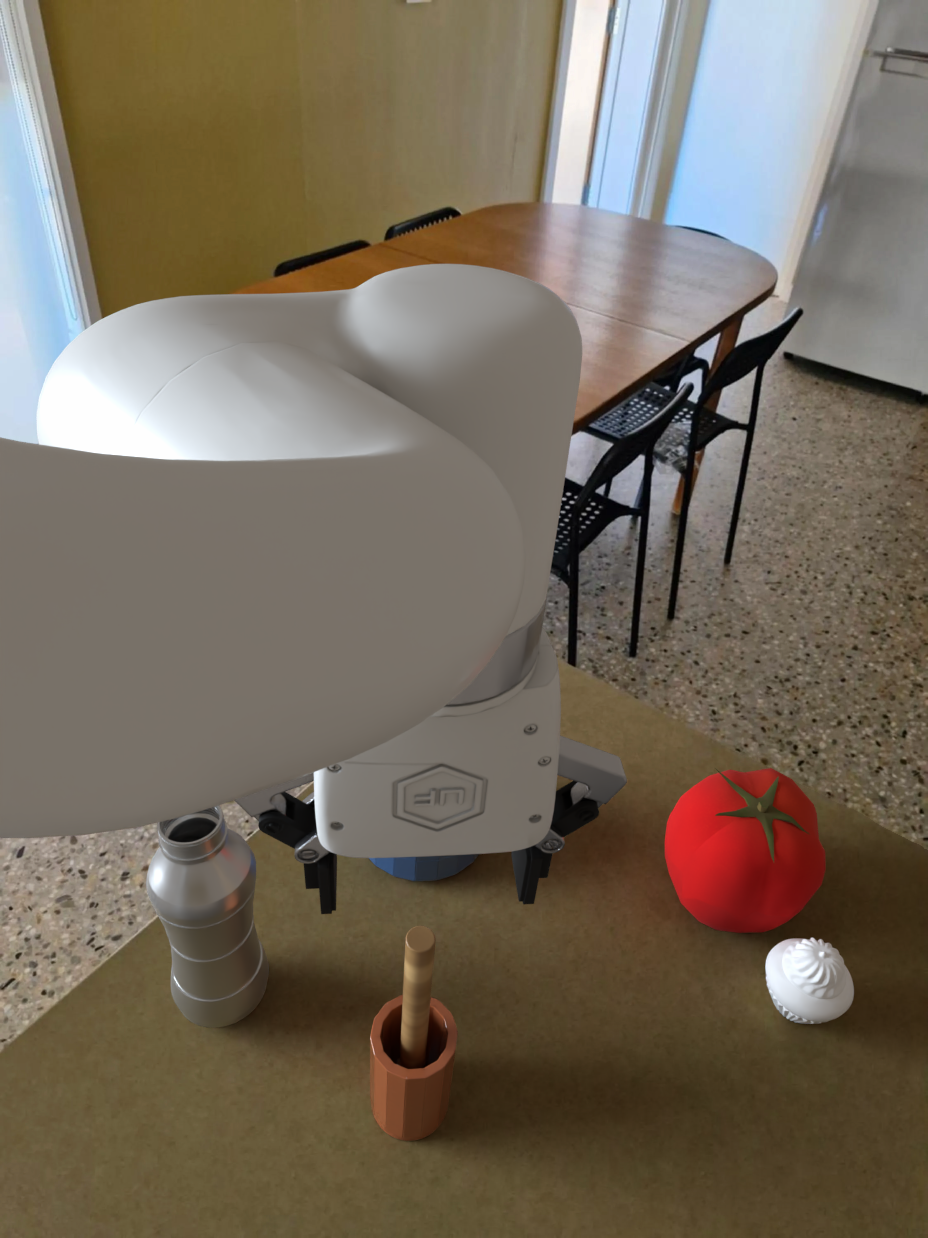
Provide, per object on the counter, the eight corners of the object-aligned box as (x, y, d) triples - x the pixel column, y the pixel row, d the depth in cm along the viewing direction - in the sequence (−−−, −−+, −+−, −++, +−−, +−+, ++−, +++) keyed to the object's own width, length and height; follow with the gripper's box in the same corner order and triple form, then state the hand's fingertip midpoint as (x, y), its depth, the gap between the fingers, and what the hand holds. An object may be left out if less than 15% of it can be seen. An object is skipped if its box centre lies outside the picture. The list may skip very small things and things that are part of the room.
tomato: (621, 897, 73) (649, 806, 65) (698, 802, 81) (731, 712, 74) (759, 992, 67) (807, 904, 60) (827, 879, 75) (876, 790, 68)
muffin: (742, 1015, 65) (769, 964, 61) (764, 950, 70) (791, 899, 65) (827, 1060, 63) (861, 1011, 59) (844, 991, 67) (878, 940, 63)
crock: (452, 1138, 58) (461, 1076, 52) (370, 1144, 57) (370, 1082, 51) (446, 1057, 62) (454, 991, 56) (369, 1062, 61) (369, 995, 55)
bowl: (493, 883, 73) (500, 837, 69) (356, 888, 71) (355, 842, 68) (479, 777, 81) (484, 732, 78) (356, 781, 80) (355, 735, 76)
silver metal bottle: (166, 975, 65) (117, 798, 52) (256, 939, 67) (231, 762, 55) (188, 1056, 60) (141, 884, 48) (284, 1014, 63) (263, 841, 51)
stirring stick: (424, 1111, 58) (439, 956, 46) (397, 1113, 58) (404, 958, 46) (422, 1077, 60) (436, 919, 48) (396, 1079, 60) (402, 920, 48)
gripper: (191, 694, 30) (241, 964, 40) (693, 683, 31) (612, 943, 42) (218, 561, 35) (256, 829, 46) (641, 559, 37) (581, 816, 48)
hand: (426, 883), depth 44 cm, fingers open, 9 cm apart
